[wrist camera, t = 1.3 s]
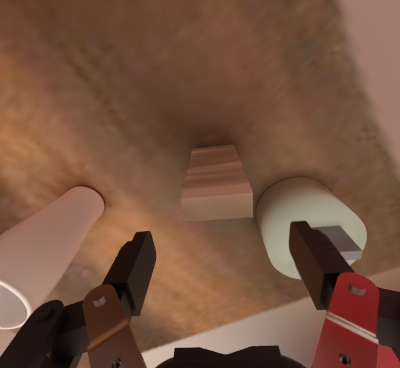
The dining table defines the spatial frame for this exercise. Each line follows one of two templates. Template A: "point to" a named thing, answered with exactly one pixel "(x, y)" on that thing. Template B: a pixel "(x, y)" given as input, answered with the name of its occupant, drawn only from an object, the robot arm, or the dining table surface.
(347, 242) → the cream plug cylinder
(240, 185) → the brown wooden block
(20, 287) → the drinking glass
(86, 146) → the dining table surface
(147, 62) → the dining table surface
